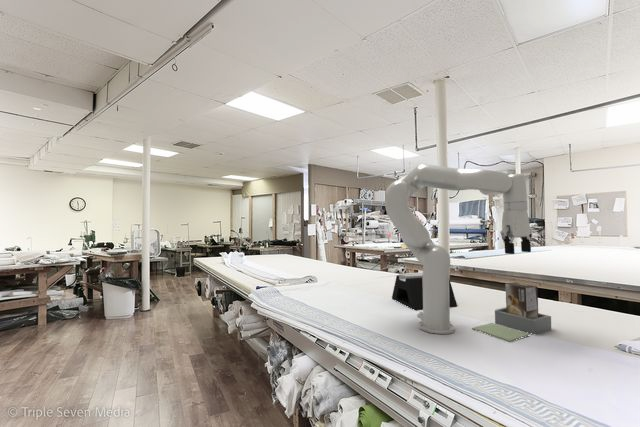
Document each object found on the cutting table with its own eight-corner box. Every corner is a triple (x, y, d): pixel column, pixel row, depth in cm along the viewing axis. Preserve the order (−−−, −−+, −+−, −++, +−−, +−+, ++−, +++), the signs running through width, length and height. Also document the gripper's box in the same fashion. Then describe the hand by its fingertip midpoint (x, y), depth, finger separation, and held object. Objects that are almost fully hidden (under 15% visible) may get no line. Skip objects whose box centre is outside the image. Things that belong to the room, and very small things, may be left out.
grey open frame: (495, 323, 121) (494, 308, 121) (512, 319, 127) (511, 304, 127) (534, 334, 109) (533, 318, 109) (551, 329, 114) (550, 313, 114)
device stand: (391, 299, 162) (391, 271, 162) (429, 296, 167) (428, 269, 168) (415, 311, 140) (414, 278, 140) (457, 307, 145) (456, 275, 146)
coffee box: (540, 329, 114) (539, 286, 115) (527, 331, 112) (526, 287, 113) (517, 321, 123) (516, 282, 123) (505, 323, 121) (504, 283, 121)
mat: (472, 329, 115) (472, 327, 115) (492, 324, 120) (492, 322, 120) (509, 342, 102) (509, 340, 102) (530, 335, 108) (529, 334, 108)
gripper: (519, 207, 121) (522, 250, 121) (490, 208, 114) (493, 253, 113) (539, 206, 115) (542, 251, 114) (510, 206, 107) (513, 255, 107)
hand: (518, 252), depth 114 cm, fingers open, 9 cm apart
